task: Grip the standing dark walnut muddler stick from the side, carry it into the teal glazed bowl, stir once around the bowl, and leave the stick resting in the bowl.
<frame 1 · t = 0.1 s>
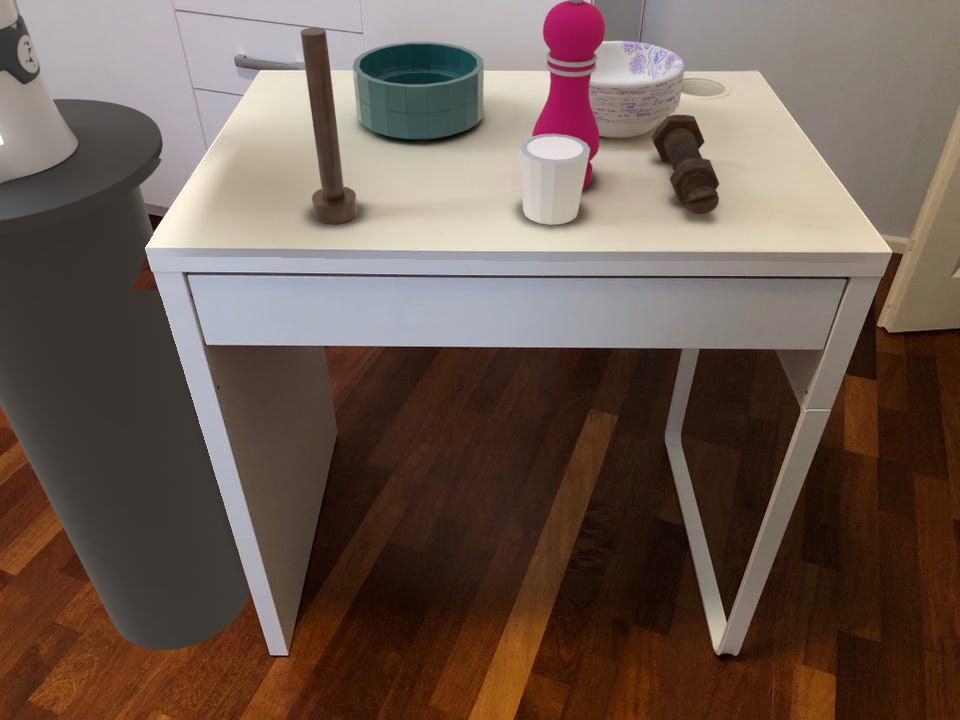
pepper mill: (562, 181, 87), on the table
bolt: (683, 188, 86), on the table
bowl: (420, 118, 100), on the table
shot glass: (550, 212, 82), on the table
muddler: (335, 213, 81), on the table
paper bowls: (613, 125, 99), on the table
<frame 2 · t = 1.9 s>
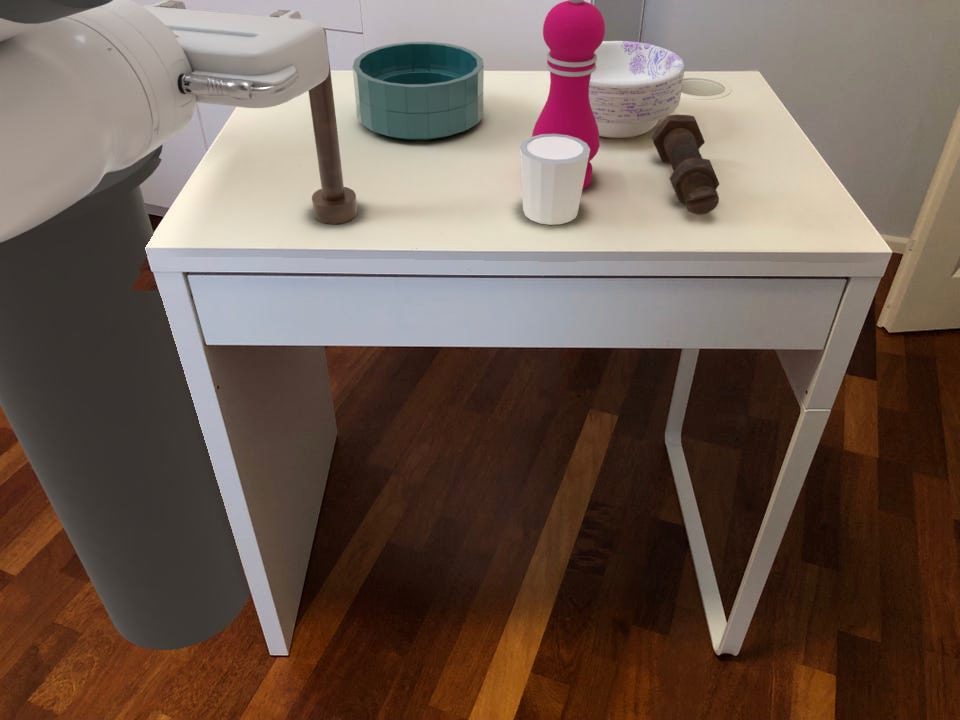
hand: (234, 16, 58), 22 cm above the table, tool horizontal, fingers open, 8 cm apart
nothing on the table moved.
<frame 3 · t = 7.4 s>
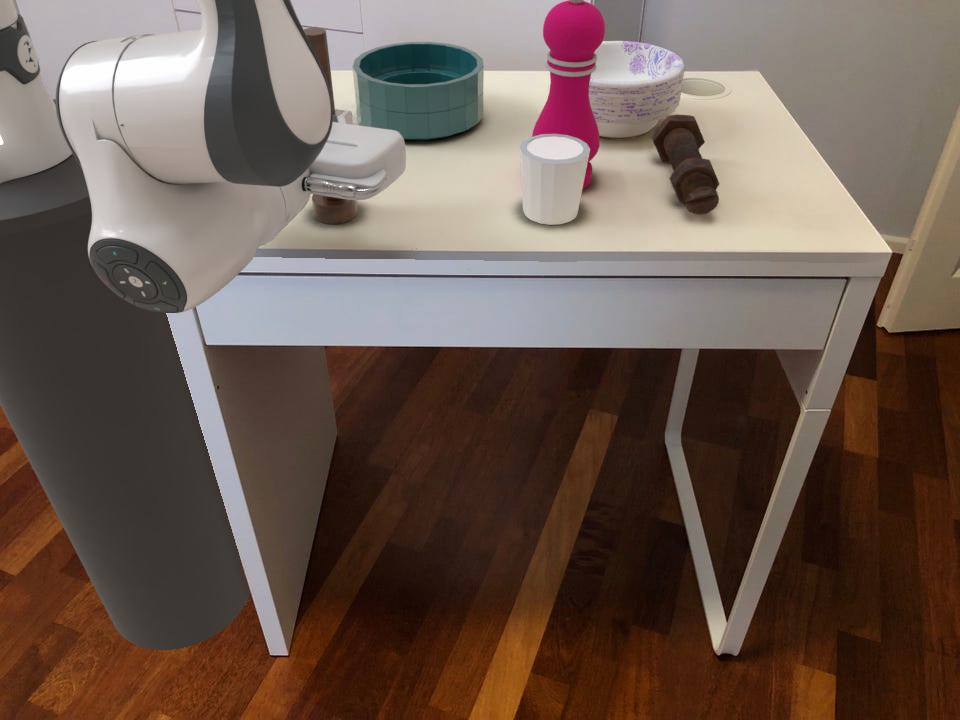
hand: (328, 115, 75), 10 cm above the table, tool horizontal, fingers closed on muddler, 2 cm apart
muddler: (335, 213, 81), on the table, touching gripper
everything else where it was.
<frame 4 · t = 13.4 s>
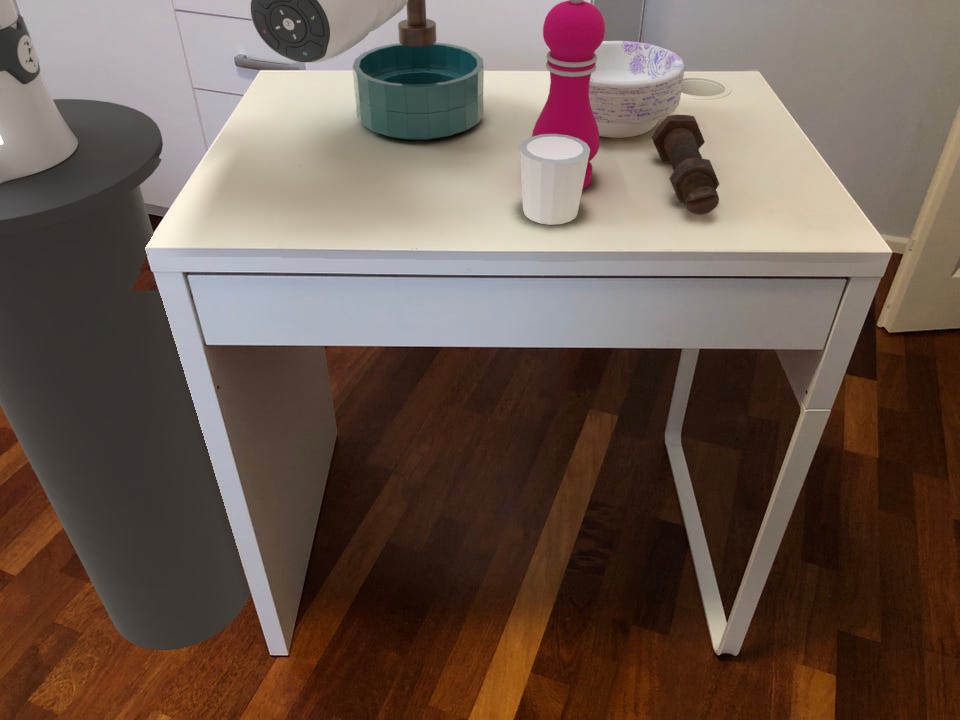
muddler: (417, 41, 93), point 10 cm above the table, touching gripper
everything else where it was.
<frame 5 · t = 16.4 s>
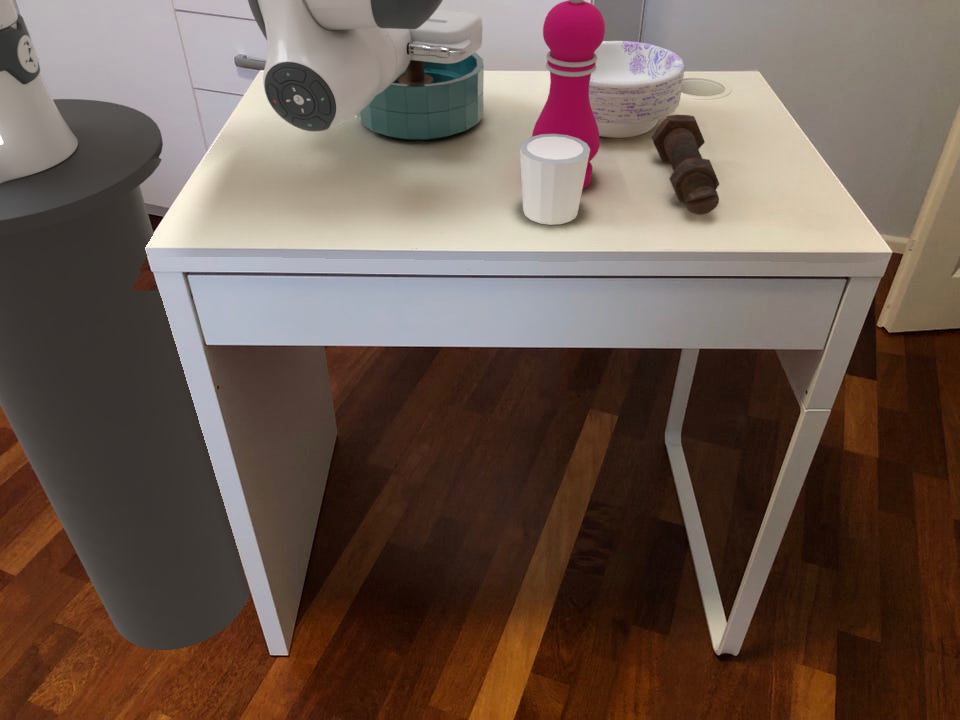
hand: (415, 9, 94), 12 cm above the table, tool horizontal, fingers closed on muddler, 2 cm apart
muddler: (416, 95, 100), point 2 cm above the table, touching gripper
everything else where it was.
when the fingers open (11 cm above the table, at t = 19.5 s): muddler stays where it is, resting on bowl.
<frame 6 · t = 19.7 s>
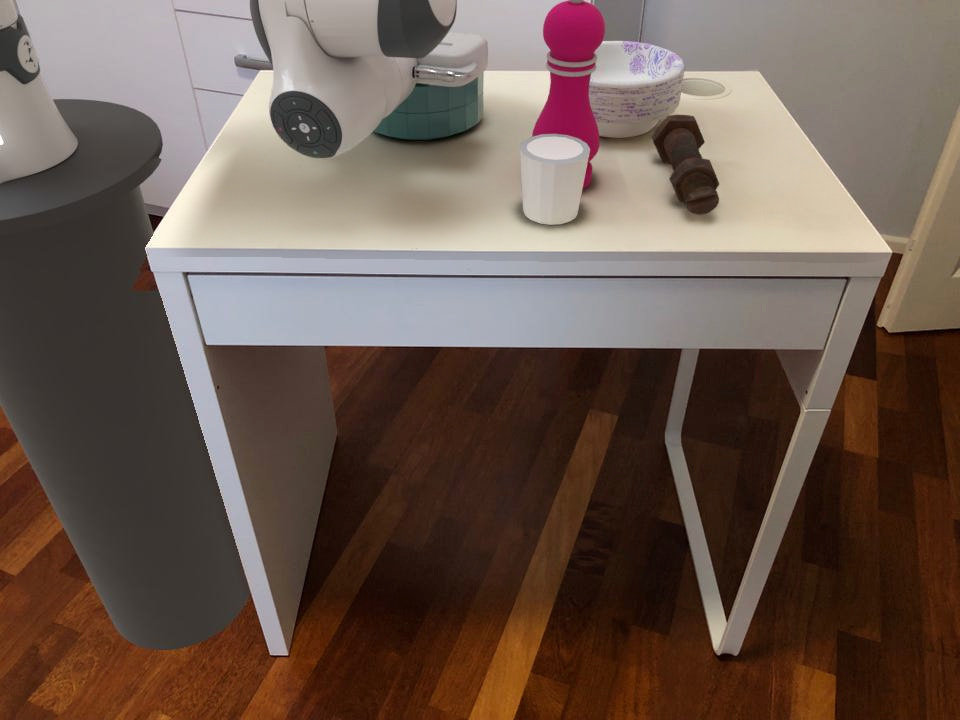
hand: (420, 29, 94), 11 cm above the table, tool horizontal, fingers open, 3 cm apart
muddler: (421, 113, 99), point 1 cm above the table, touching bowl
everything else where it was.
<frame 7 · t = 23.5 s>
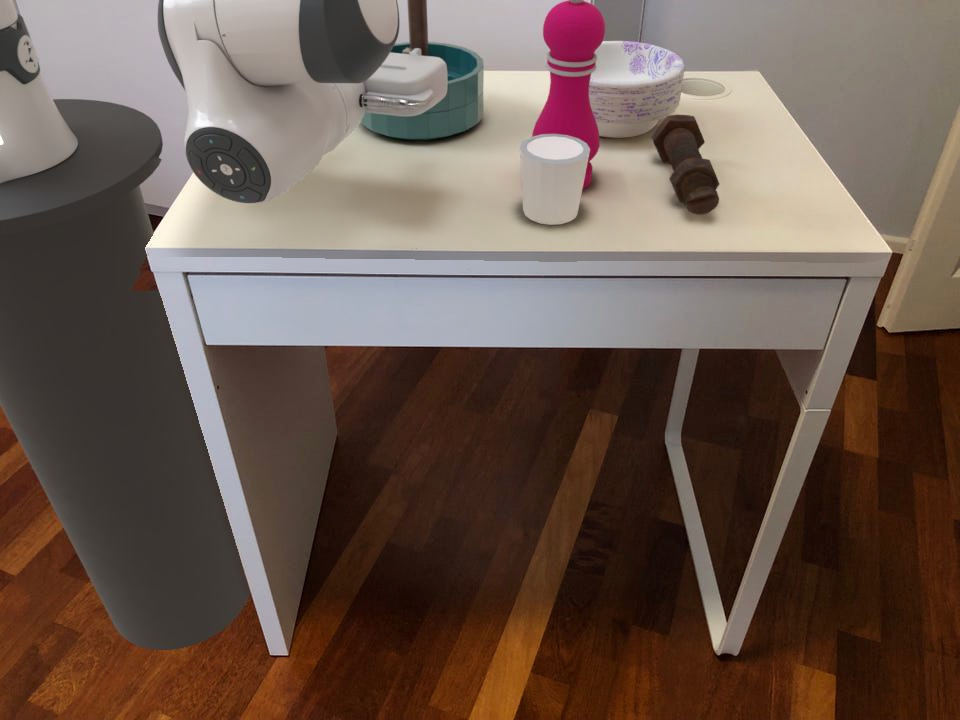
hand: (372, 51, 83), 12 cm above the table, tool horizontal, fingers open, 8 cm apart
nothing on the table moved.
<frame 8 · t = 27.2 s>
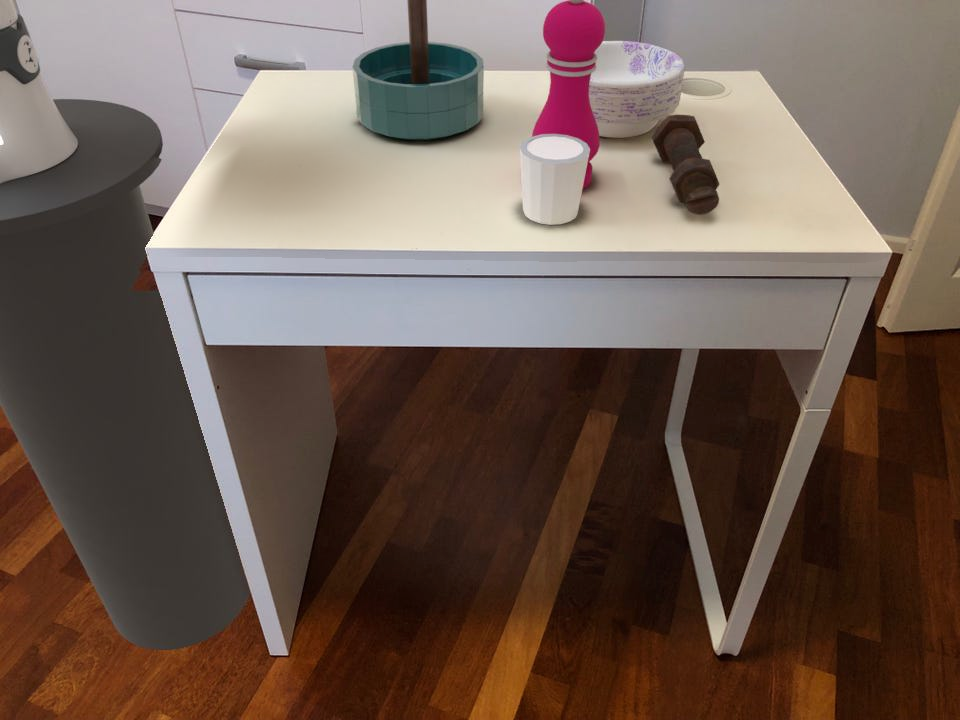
nothing on the table moved.
at the end: muddler inside the target area in the bowl (0.2 cm from its centre), point 0.8 cm above the bowl's base; the gripper is holding nothing; muddler moved 25.3 cm from its start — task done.
